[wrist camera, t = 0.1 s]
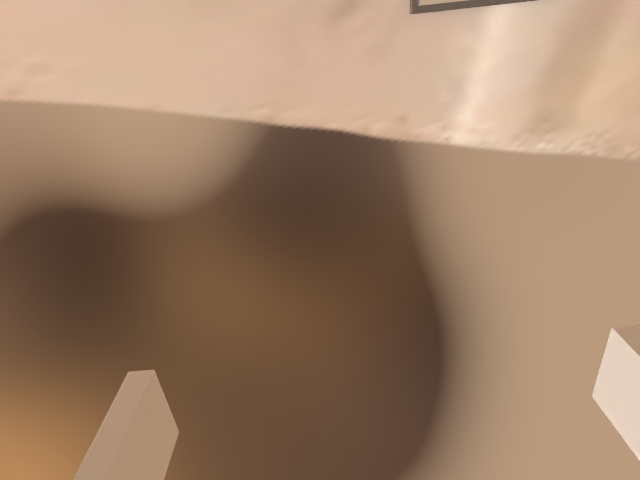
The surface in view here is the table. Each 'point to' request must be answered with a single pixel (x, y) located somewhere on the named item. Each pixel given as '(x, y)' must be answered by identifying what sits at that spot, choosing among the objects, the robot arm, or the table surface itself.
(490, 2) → the tray
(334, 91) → the table surface
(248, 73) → the table surface
